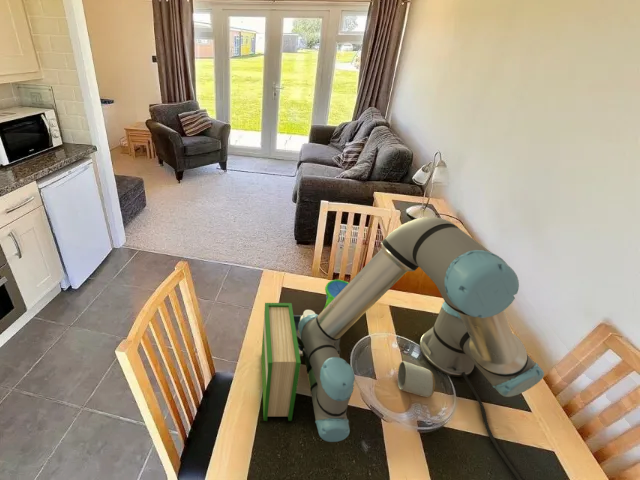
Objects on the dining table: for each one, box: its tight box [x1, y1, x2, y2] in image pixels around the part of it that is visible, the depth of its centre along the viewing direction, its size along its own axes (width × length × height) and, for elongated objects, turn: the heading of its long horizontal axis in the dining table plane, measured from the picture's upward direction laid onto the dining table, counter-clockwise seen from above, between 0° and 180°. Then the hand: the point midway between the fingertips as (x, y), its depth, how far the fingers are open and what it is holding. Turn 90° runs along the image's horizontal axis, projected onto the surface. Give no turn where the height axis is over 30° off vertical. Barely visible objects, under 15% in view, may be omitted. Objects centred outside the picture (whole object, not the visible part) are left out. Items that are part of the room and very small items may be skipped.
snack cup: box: [322, 279, 349, 311], centre depth 114 cm, size 16×10×10 cm
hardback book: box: [260, 302, 302, 422], centre depth 85 cm, size 18×7×24 cm, turn 1°
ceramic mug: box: [397, 360, 436, 398], centre depth 92 cm, size 11×8×8 cm
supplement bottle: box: [298, 309, 316, 334], centre depth 104 cm, size 5×5×10 cm
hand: (306, 310), depth 106 cm, fingers open, 12 cm apart
